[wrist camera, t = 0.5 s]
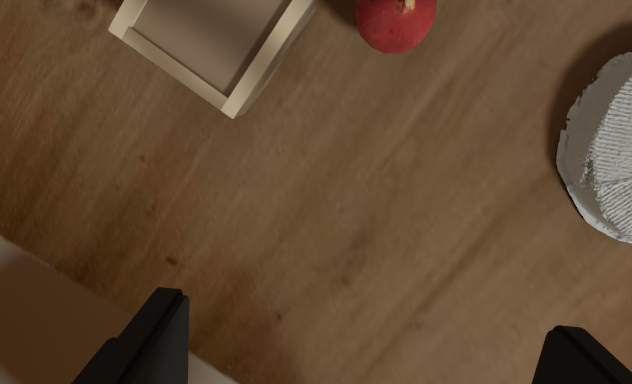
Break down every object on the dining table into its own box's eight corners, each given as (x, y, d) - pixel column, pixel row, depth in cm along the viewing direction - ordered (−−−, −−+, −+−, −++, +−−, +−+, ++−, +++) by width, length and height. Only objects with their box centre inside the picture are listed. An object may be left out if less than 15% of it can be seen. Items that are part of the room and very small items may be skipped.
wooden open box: (212, -70, 30) (184, -111, 24) (315, 12, 32) (314, -6, 26) (149, 40, 33) (108, 30, 26) (248, 112, 34) (232, 118, 28)
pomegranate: (336, 17, 32) (342, -4, 24) (389, -37, 31) (413, -77, 23) (383, 71, 33) (402, 67, 25) (435, 20, 32) (472, 0, 24)
